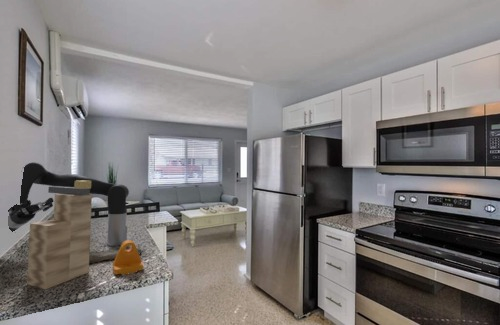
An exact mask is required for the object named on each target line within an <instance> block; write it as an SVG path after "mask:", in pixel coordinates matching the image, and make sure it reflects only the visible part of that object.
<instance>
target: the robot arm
mask: <svg viewBox="0 0 500 325" xmlns="http://www.w3.org/2000/svg"><path fill="white" fill-rule="evenodd" d="M24 166H25V167H24ZM24 166H23V168H24V172H23V179H22V185H21V196H20V205H17V204H16V205H14V206H13V207H11V208H10V209H9V210H8V212H9V216H8V226H9V229H10V230H11V231H12V232H13V231H15V230H18V229H19V228H21V227H22V226H25V225H26V224H27V223H28V222H30V221H31V220H33V218H35V216H36V215H37V213H38V212H41V211H43V212H46V211H48V210H49V209H51V208H52V207H54V202H55V200H54V198H53V197H49V198H48V199H46V200H45V201H43V202H41V201H40V202H36V203H34V204H32V201H31V199H29V196H30V192H31V188H32V186H33V185H34V184H35V185H42V186H48V187H52V186H60V187H74V183H75V181H91V188H90V194H92V195H101V196H104V197H107V210H108V211H107V212H108V214H107V215H108V216H107V240H106V242H107V243H106V244H107V246H113V247H114V246H115V247H116V246H121V245H122V243H123V242H124V241H126V240H128V226H127V215H128V214H127V213H128V208H127V204H126V202H127V197H129V195H130V190H129V188H128V187H127V186H125V185H124V184H118V183H111V182H106V181H102V180H99V179H96V178H93V177H88V176H85V175H81V174H76V173H67V174H62V173H56V172H52V171H49V170H47V169H46V168H45V166H43V165H42V164H41V163H40V162H35V161H33V162H29V163H26V164H25V165H24Z"/></svg>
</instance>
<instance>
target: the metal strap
mask: <svg viewBox="0 0 500 325" xmlns="http://www.w3.org/2000/svg"><path fill="white" fill-rule="evenodd" d="M90 188H91V181H75V183H74V187H60V186H48V192H47V193H49V194H72V195H90Z"/></svg>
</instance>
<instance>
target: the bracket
mask: <svg viewBox="0 0 500 325" xmlns="http://www.w3.org/2000/svg"><path fill="white" fill-rule="evenodd" d="M128 246H131V247H130V249H129V250H125V249H127V248H128ZM137 248H138V247H137V245H136V244H135V241H133V240H131V239H127V240H126V241H124V242H123V243H122V245H120V247H119V249H118V250H119V251H118V254H117V256H116V258H115V259H114V261H113V264H112V270H113V274H114V275H120V274H122V275H121V276H124V275H123V274H126V275H129V274H128V273H131V274H134V273H133V272H139V271H142V270H144V263H143V262H142V259H141V257H140V256H141V255H139V254H138V251H137Z"/></svg>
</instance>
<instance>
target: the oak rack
mask: <svg viewBox="0 0 500 325" xmlns="http://www.w3.org/2000/svg"><path fill="white" fill-rule="evenodd" d="M92 197H93V194H90V195H72V194H59V193H54V202H53V219H48V220H43V221H42V220H41V221H35V222H31V223H29V238H28V239H29V241H28V257H27V260H28V261H27V280H26V281H27V282H26V284H27V286H31V287H35V288H39V289H42V290H47V289H50V288H52V287H55V286H58V285H60V284H63V283H65V282H67V281H70V280H71V281H72V280H73V279H76V278H78V277H81V276H83V275H85V274H88V273H90V272H89V271H90V263H89V252H91V251H90V250H91V248H90V247H91V224H92V200H93V198H92Z"/></svg>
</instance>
